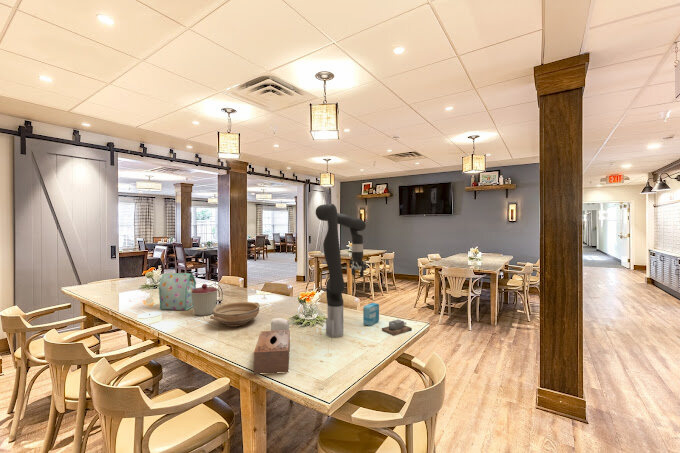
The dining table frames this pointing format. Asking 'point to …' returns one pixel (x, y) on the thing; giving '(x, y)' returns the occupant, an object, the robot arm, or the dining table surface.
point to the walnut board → (396, 332)
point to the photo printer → (279, 324)
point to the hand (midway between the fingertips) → (357, 275)
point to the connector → (396, 325)
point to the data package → (371, 314)
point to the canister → (204, 300)
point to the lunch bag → (176, 291)
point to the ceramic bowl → (235, 313)
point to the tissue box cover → (272, 352)
